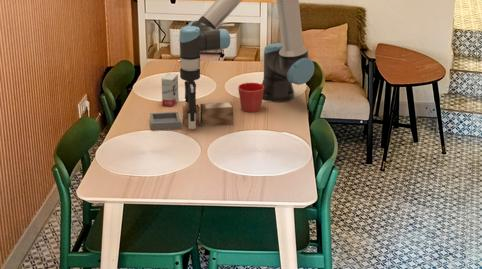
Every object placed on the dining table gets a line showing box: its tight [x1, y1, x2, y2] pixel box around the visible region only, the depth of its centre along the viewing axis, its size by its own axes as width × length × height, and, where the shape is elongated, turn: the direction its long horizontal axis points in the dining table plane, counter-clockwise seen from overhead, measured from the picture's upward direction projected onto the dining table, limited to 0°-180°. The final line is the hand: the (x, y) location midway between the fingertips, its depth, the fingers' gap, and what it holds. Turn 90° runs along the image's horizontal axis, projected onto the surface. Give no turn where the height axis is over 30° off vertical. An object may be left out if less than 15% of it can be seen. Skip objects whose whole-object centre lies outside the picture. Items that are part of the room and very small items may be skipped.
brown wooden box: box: [199, 102, 234, 127], centre depth 267 cm, size 12×6×7 cm, turn 100°
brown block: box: [182, 103, 201, 128], centre depth 266 cm, size 6×5×7 cm
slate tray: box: [149, 111, 182, 131], centre depth 266 cm, size 11×11×3 cm
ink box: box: [161, 72, 179, 107], centre depth 286 cm, size 9×5×12 cm, turn 168°
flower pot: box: [237, 82, 264, 113], centre depth 281 cm, size 11×11×10 cm
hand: (190, 123), depth 267 cm, fingers open, 10 cm apart
